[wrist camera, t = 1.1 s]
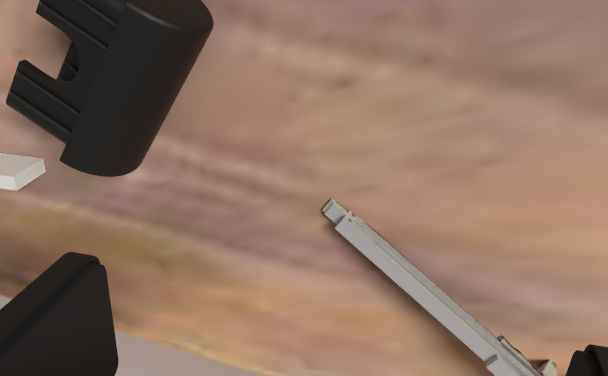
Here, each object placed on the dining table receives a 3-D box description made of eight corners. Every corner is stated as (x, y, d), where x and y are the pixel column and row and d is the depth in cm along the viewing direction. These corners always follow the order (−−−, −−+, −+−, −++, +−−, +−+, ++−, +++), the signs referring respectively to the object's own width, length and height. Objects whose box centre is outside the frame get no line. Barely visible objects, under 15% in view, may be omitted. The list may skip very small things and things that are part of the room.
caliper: (576, 375, 36) (601, 458, 31) (563, 383, 37) (585, 466, 31) (332, 195, 34) (312, 250, 28) (322, 207, 34) (300, 262, 29)
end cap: (163, 147, 35) (107, 195, 29) (69, 83, 34) (-8, 119, 28) (235, 16, 30) (185, 41, 24) (127, -61, 29) (49, -55, 24)
